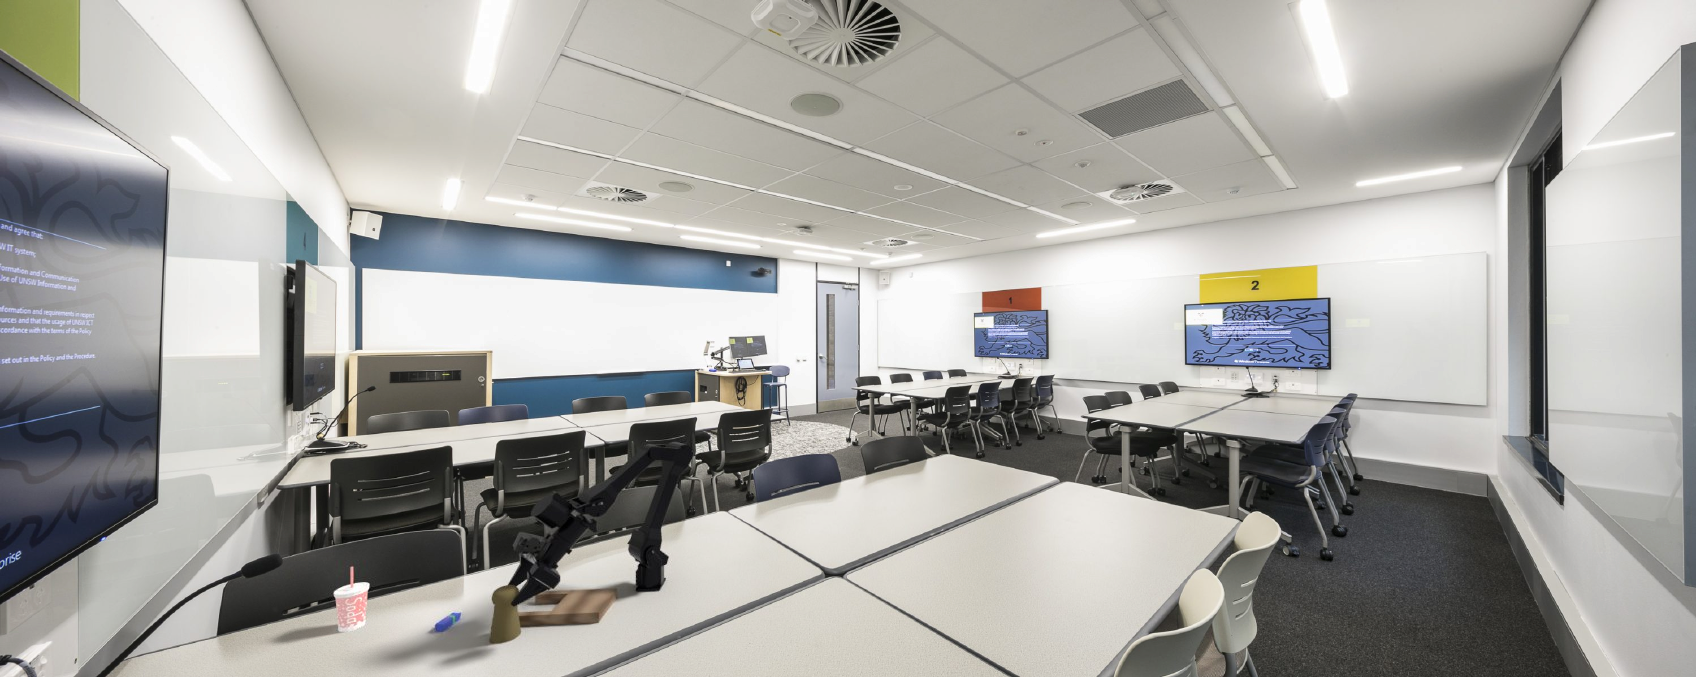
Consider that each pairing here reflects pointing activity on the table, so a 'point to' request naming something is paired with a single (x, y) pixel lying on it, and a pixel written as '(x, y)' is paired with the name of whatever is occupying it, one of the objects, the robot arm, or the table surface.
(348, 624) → the beverage cup
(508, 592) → the cork
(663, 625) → the table surface
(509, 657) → the table surface
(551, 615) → the notched board
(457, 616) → the eraser
